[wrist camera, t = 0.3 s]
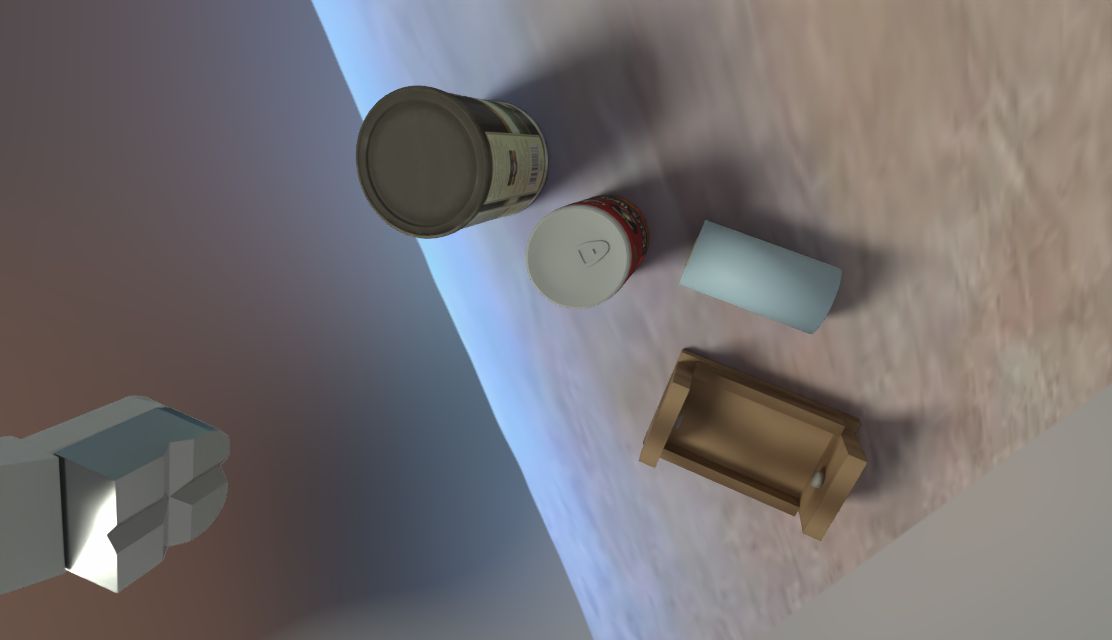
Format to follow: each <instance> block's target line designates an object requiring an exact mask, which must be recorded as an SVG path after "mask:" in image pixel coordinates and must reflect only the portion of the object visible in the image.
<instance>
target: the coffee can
mask: <svg viewBox="0 0 1112 640" xmlns="http://www.w3.org/2000/svg"><path fill="white" fill-rule="evenodd" d="M356 166H357V173H358V177H359V181H360V184H361V187H362V189H363V192H364V194H365V196H366V198H367V200H368V202H369V203H370V205H371V206H372V208H373V209H374V211H375V212H376V213H377V214H378V215H379V216H380V217H381V218H382V219H383V220H384V221H385V222H386V223H387V224H389V225H390V226H391V227H393V228H394V229H396V230H397V231H400V232H402V233H404V234H406V235H409V236H413V237H417V238H424V239H431V238H439V237H444V236H447V235H450V234H452V233H455V232H457V231H458V230H460V229H463V228H466V227H470V226H473V225H476V224H480V223H483V222H486V221H489V220H493V219H496V218H500V217H504V216H509V215H513V214H516V213H518V212H520V211H522V210H523V209H525V208H526V207H528V206H529V205H530V204H531V203H532V202H533V201H534V200H535V199H536V197H537V196H538V195H539V193H540V191H541V190H542V188H543V185H544V183H545V180H546V176H547V171H548V152H547V147H546V143H545V140H544V136H543V134H542V133H541V131H540V129H539V127H538V126H537V124H536V123H535V122H534V120H533V119H532V118H531V117H530V116H529V115H528V114H526V113H525V112H524V111H523V110H521V109H519V108H518V107H516V106H514V105H512V104H509V103H505V102H498V101H489V100H483V99H477V98H472V97H467V96H462V95H457V94H453V93H447V92H444V91H442V90H439V89H436V88H432V87H427V86H408V87H403V88H401V89H397V90H395V91H393V92H391V93H389V94H387V95H386V96H384V97H383V98H382V99H380V100H379V101H378V102H377V103H376V104H375V105H374V106H373V108H372V109H371V110H370V111H369V113H368V114H367V116H366V118H365V120H364V122H363V124H362V127H361V129H360V132H359V135H358V140H357V146H356Z"/></svg>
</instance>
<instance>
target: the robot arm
mask: <svg viewBox="0 0 1112 640" xmlns="http://www.w3.org/2000/svg"><path fill="white" fill-rule="evenodd" d="M228 457H229V437H228V436H227V435H226V434H225V433H223V432H222V431H221V430H219V429H217V428H215V427H213V426H211V425H208V424H206V423H204V422H202V421H199V420H197V419H195V418H192V417H191V416H188V415H186V414H184V413H182V412H179V411H177V410H175V409H173V408H171V407H166V406H164V405H162V404H160V403H157V402H155V401H153V400H151V399H149V398H147V397H145V396H129V397H126V398H124V399H121V400H119V401H116V402H113V403H111V404H108V405H106V406H103V407H101V408H99V409H96V410H93V411H91V412H88V413H86V414H83V415H81V416H79V417H76V418H73V419H71V420H68V421H66V422H63V423H61V424H58V425H56V426H53V427H51V428H48V429H46V430H43V431H41V432H38V433H36V434H33V435H31V436H28V437H26V438H23V439H21V440H20V439H17V438H15V437H13V436H7V437H0V595H1V594H4V593H7V592H10V591H13V590H16V589H19V588H22V587H25V586H28V585H31V584H34V583H37V582H40V581H43V580H46V579H49V578H52V577H55V576H58V575H61V574H64V573H65V569H66V570H68V571H70V572H72V573H75V574H77V575H79V576H81V577H83V578H85V579H87V580H90V581H92V582H94V583H96V584H98V585H100V586H103V587H105V588H107V589H109V590H111V591H114V592H116V593H118V592H120V591H121V590H122V589H124V588H125V587H127V586H128V585H130V584H131V583H132V582H134V581H135V580H137V579H138V578H139V577H141V576H142V575H144V574H145V573H146V572H148V571H149V570H151V569H152V568H153V567H155V566H156V565H158V564H159V563H161V562H162V560H163V558H164V555H165V553H166V550H167V547H169V546H173V545H177V544H181V543H185V542H189V541H191V540H192V539H194V538H195V537H196V536H198V535H199V534H200V533H202V532H203V531H204V530H206V529H207V528H208V527H209V526H210V524H211V523H212V522H213V520H214V519H215V518H216V516H217V515H218V514H219V513H220V511H221V509H222V507H223V504H224V501H225V498H226V496H227V484H228V483H227V482H228V481H227V479H226V477H225V475H224V473H223V470H222V469H221V466H220V465H221V464H222V463H223V462H224V461H225V460H226V459H227V458H228Z"/></svg>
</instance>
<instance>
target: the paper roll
mask: <svg viewBox="0 0 1112 640" xmlns="http://www.w3.org/2000/svg"><path fill="white" fill-rule="evenodd" d="M841 277H842V270H841V269H840V268H838V267H835V266H833V265H830V264H827V263H824V262H821V261H819V260H816V259H813V258H810V257H808V256H805V255H802V254H799V253H796V252H794V251H791V250H788V249H785V248H783V247H780V246H777V245H774V244H771V243H769V242H766V241H763V240H760V239H758V238H755V237H752V236H749V235H746V234H744V233H741V232H738V231H735V230H733V229H730V228H727V227H724V226H721V225H719V224H716V223H713V222H710V221H708V220H705V222H704V224H703V227H702V229H701V231H700V234H699V236H698V238H696V240H695V243H694V245H693V248H692V250H691V253H690V255H689V258H688V260H687V263H686V268H685V271H684V273H683V276H682V278H681V281H680V283H679V284H680V285H683V286H686V287H688V288H691V289H694V290H696V291H699V292H701V293H704V294H707V295H709V296H712V297H714V298H717V299H720V300H722V301H725V302H728V303H730V304H733V305H735V306H738V307H741V308H743V309H746V310H749V311H751V312H754V313H756V314H759V315H762V316H764V317H767V318H769V319H772V320H775V321H777V322H780V323H783V324H785V325H788V326H790V327H793V328H796V329H798V330H801V331H804V332H806V333H809V334H812V333H814V332H815V331H816V330H817V329H818V328H819V327H820V325H821V324H822V322H823V321H824V319H825V318H826V316H827V314H828V312H829V310H830V308H831V306H832V304H833V302H834V300H835V297H836V295H837V292H838V289H839V286H840V282H841Z"/></svg>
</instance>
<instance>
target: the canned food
mask: <svg viewBox="0 0 1112 640" xmlns="http://www.w3.org/2000/svg"><path fill="white" fill-rule="evenodd" d="M648 244H649V232H648V227H647V224H646V221H645V219H644V217H643V216H642V214H641V212H640V211H639V210H638V209H637V208H636V207H635V206H634V205H633V204H631V203H630V202H628V201H627V200H624V199H622V198H620V197H615V196H608V195H602V196H596V197H592V198H589V199H585V200H582V201H579V202H576V203H572V204H569V205H567V206H564V207H561V208H559V209H557V210H555V211H553V212H551V213H550V214H548V215H547V216H546V217H545V218H544V219H542V220H541V221H540V222H539V223H538V224H537V226H536V227H535V229H534V230H533V232H532V234H531V236H530V238H529V240H528V244H527V249H526V265H527V271H528V274H529V276H530V279H531V281H532V282H533V284H534V286H535V287H536V289H537V290H538V291H539V292H540V293H541V294H542V295H543V296H544V297H545V298H547V299H548V300H549V301H551V302H553V303H555V304H557V305H559V306H563V307H566V308H573V309H582V308H590V307H593V306H596V305H599V304H601V303H602V302H604V301H606V300H608V299H610V298H611V297H612V296H613V295H614V294H616V293H617V292H618V290H620V288H621V287H622V286H623V285H624V283H625V282H626V281H627V280H628V278H629V277H630V276H631V275H632V273H633V272H634V271H635V270H636V268H637V267H638V266H639V265H640V263H641V262H642V260H643V259H644V257H645V255H646V252H647V249H648Z"/></svg>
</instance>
